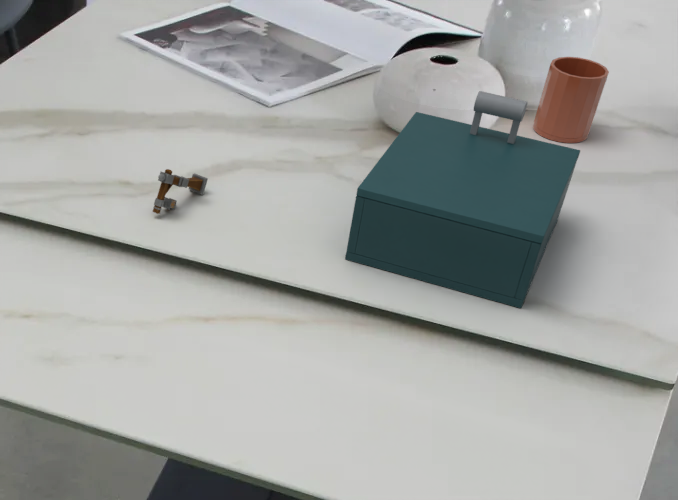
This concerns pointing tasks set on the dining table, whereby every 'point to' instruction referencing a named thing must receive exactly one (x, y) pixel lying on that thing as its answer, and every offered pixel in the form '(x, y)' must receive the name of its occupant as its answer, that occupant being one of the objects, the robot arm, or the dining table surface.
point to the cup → (570, 99)
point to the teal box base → (446, 250)
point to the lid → (474, 171)
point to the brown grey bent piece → (168, 180)
